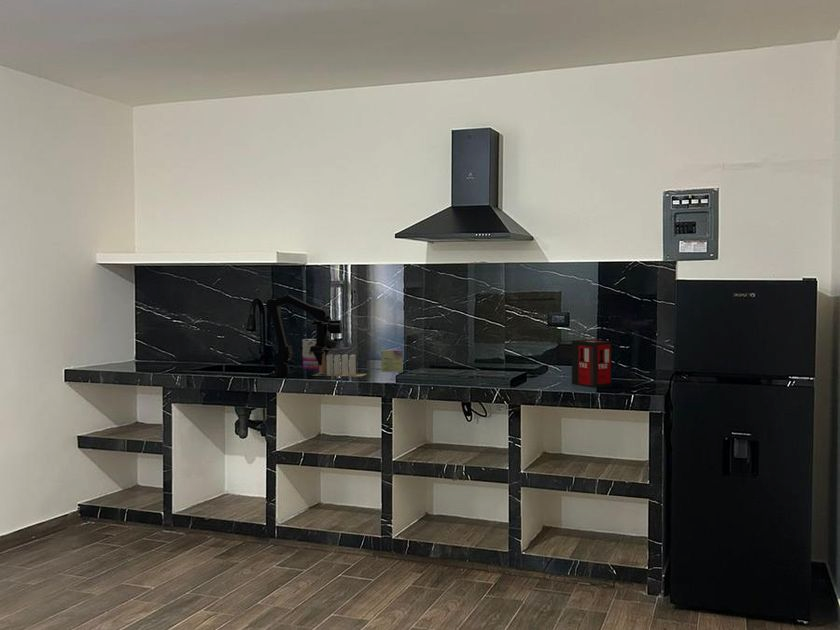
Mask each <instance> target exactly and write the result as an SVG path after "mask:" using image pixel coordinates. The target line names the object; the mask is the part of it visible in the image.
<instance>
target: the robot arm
mask: <svg viewBox="0 0 840 630" xmlns="http://www.w3.org/2000/svg"><path fill="white" fill-rule="evenodd" d="M287 304H289V305H292V306H293V307H296V308H298V309H300V310H301V311H304V312H306V313H308V314H309V315H310V316H311V317H313V319H314V321H312V323H311V325H312V326H313V325H314V326H315V335H314V339H316V344H315V346H311V347H310V352H313V354H314V355H315V357H316V359H317V361H318V363H319V365H322V358H323V354H324V353H325V363H327V358H326V355H329V354H330V352H331V351H332V349H335V350H336V349H338V346H339V345H340V342H339V338H336V337H335V338H330V335H328V332H329V333H330V334H331V335H332V334H333V335H334V334H336V335H337V334H338V335H339V334H340V335H341V334H342V333H343V326H344V325H343V324H342V320H341V319H338V320H335V319H334V320H333V319H332V318H331V316H330V315H329V313H328V310H327V309H326V308H323V307H319V306H315V305H312V304H310V303H307V302H305V301H303V300H301V299H298V298H297V297H294V295H292V294H286V295H285V296H282V297H279V298H272V299H268V300H267V301H266V303H265V307H266V309H267V312H268V314H269V315H270V317H271V319H272V324H273V328H274V332H275V336H276V341H277V357H276V358H275V359H274V360H273V365H274V375H273V377H275V378H276V377H277V378H279V377H280V378H281V377H284V378H285V377H288V376H290V373H291V372H290V366H289V362H290V360H291V359H293V354H294V351H293V345H289V344H288V342H287V338H286V334H285V330H284V326H283V325H284V324H283V322H282V317H281V314H282V306H284V305H287Z"/></svg>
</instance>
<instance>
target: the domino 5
mask: <svg viewBox="0 0 840 630" xmlns="http://www.w3.org/2000/svg"><path fill="white" fill-rule="evenodd" d="M356 356H357V355H356V354H350V355H348V361H349V374H350V376H349V377H354V376H353V375H356V374H357V369H356V368H357V365H356V362H357V361H356V360H357V359H356Z"/></svg>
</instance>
